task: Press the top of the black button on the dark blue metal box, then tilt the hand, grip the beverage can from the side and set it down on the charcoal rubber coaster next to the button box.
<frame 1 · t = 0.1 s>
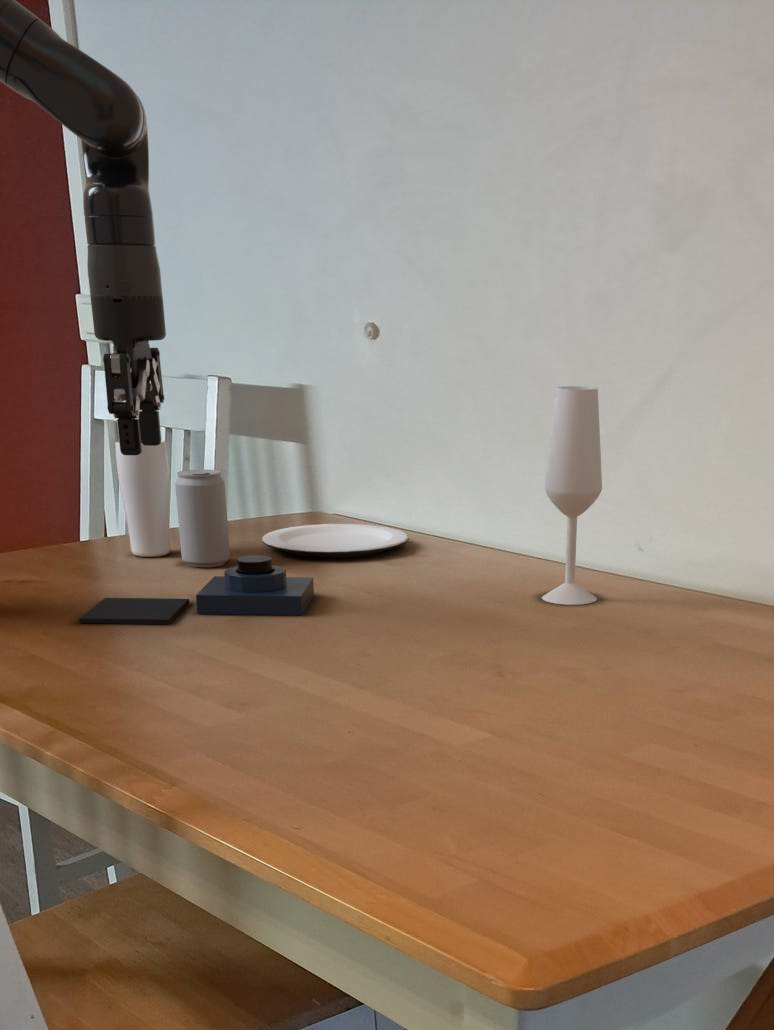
hand: (141, 449, 143), 17 cm above the table, tool pointing down, fingers open, 8 cm apart
beverage can: (206, 565, 171), on the table
button: (254, 566, 148), point 4 cm above the table, slide at 0.1 cm
button box: (257, 604, 150), on the table
drinking glass: (151, 555, 177), on the table
coaster: (136, 613, 146), on the table
plate: (336, 549, 182), on the table
champagne flute: (569, 599, 154), on the table
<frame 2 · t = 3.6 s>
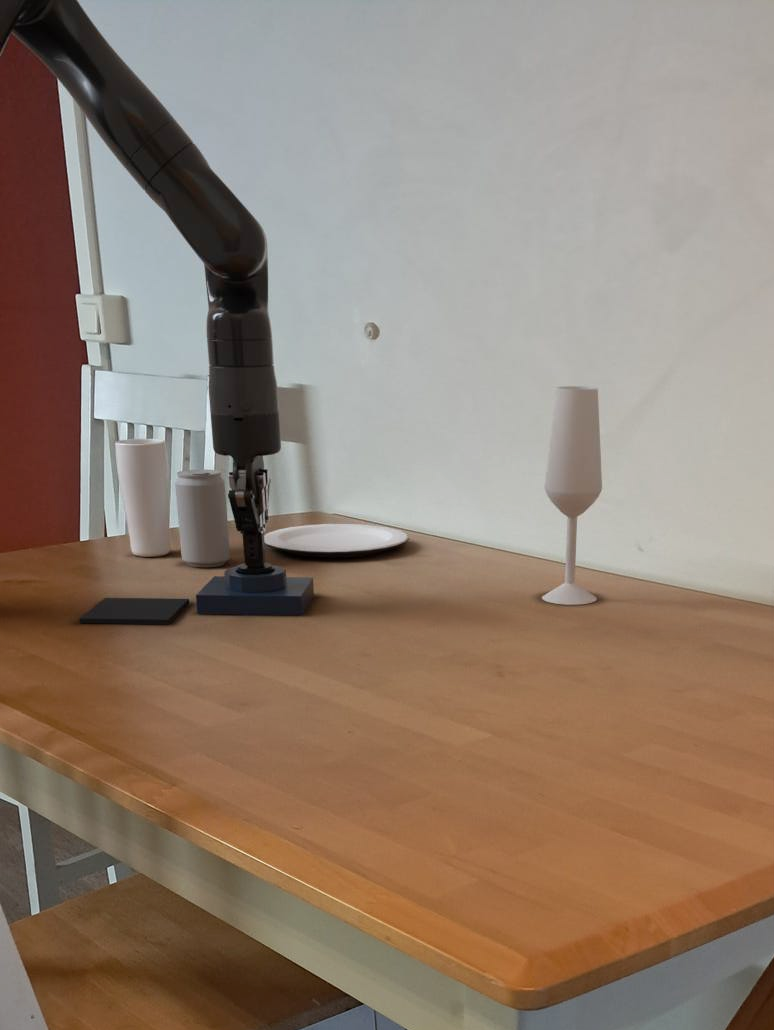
hand: (255, 565, 148), 5 cm above the table, tool pointing down, fingers closed
button: (255, 573, 149), point 4 cm above the table, slide at -0.7 cm, touching gripper
everything else where it was.
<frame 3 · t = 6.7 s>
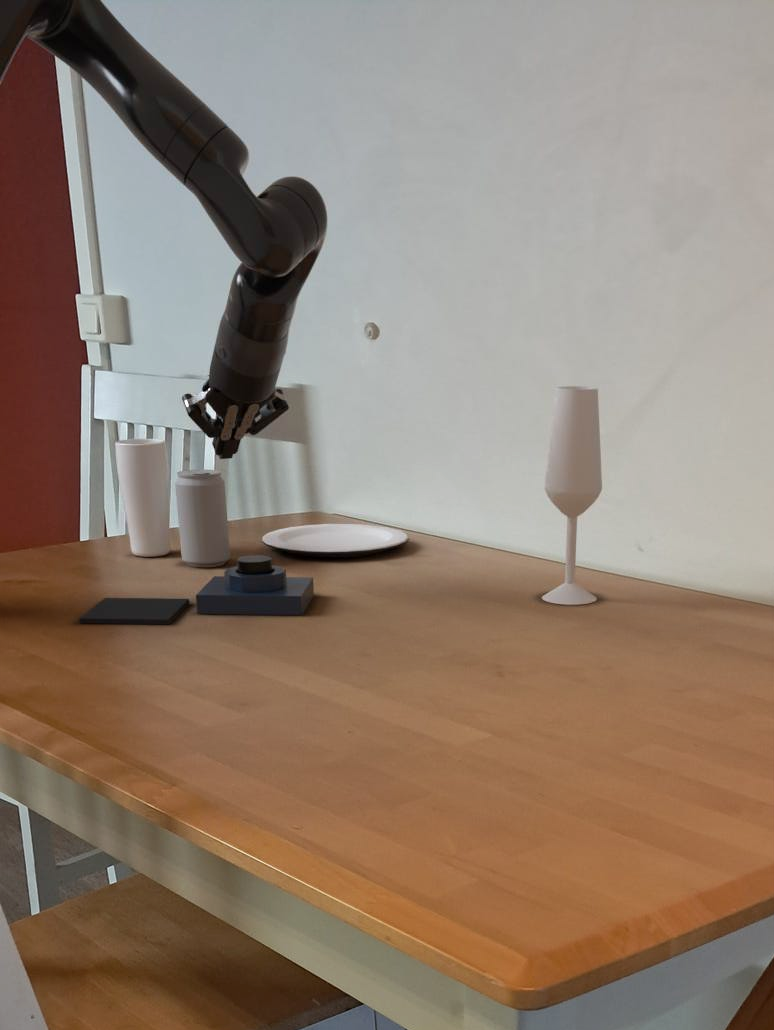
hand: (223, 453, 156), 15 cm above the table, tool tilted 45°, fingers closed
button: (254, 566, 148), point 4 cm above the table, slide at 0.1 cm
everything else where it was.
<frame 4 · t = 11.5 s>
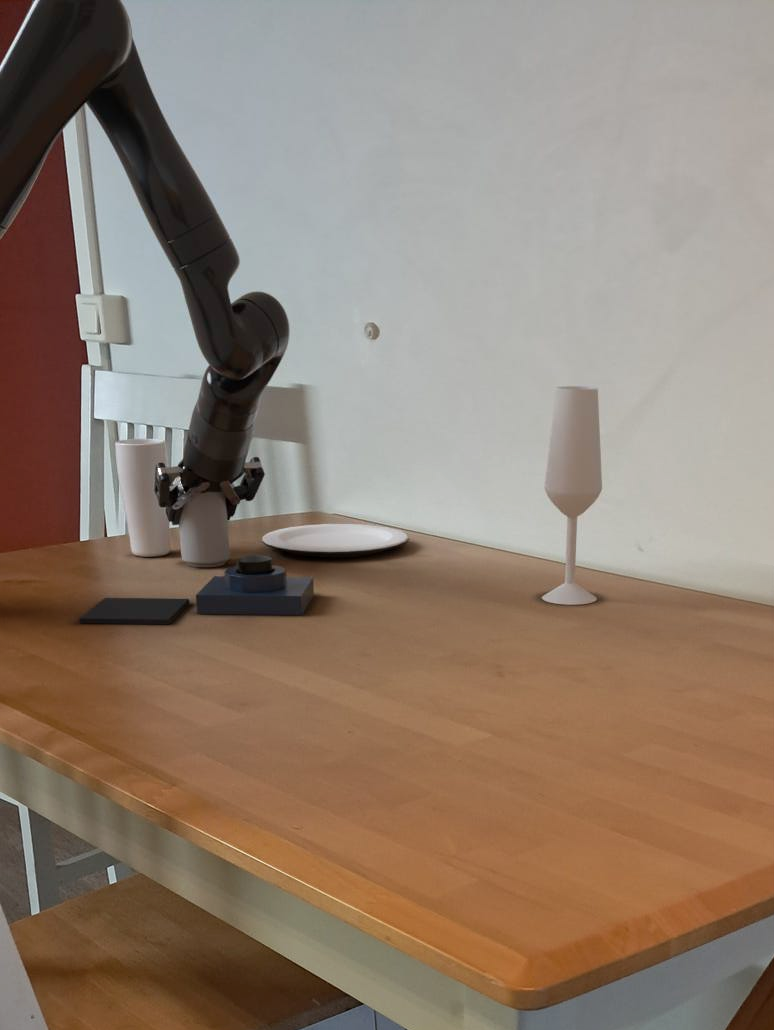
hand: (198, 517, 170), 6 cm above the table, tool tilted 45°, fingers closed on beverage can, 6 cm apart
beverage can: (206, 565, 171), on the table, touching gripper
everything else where it was.
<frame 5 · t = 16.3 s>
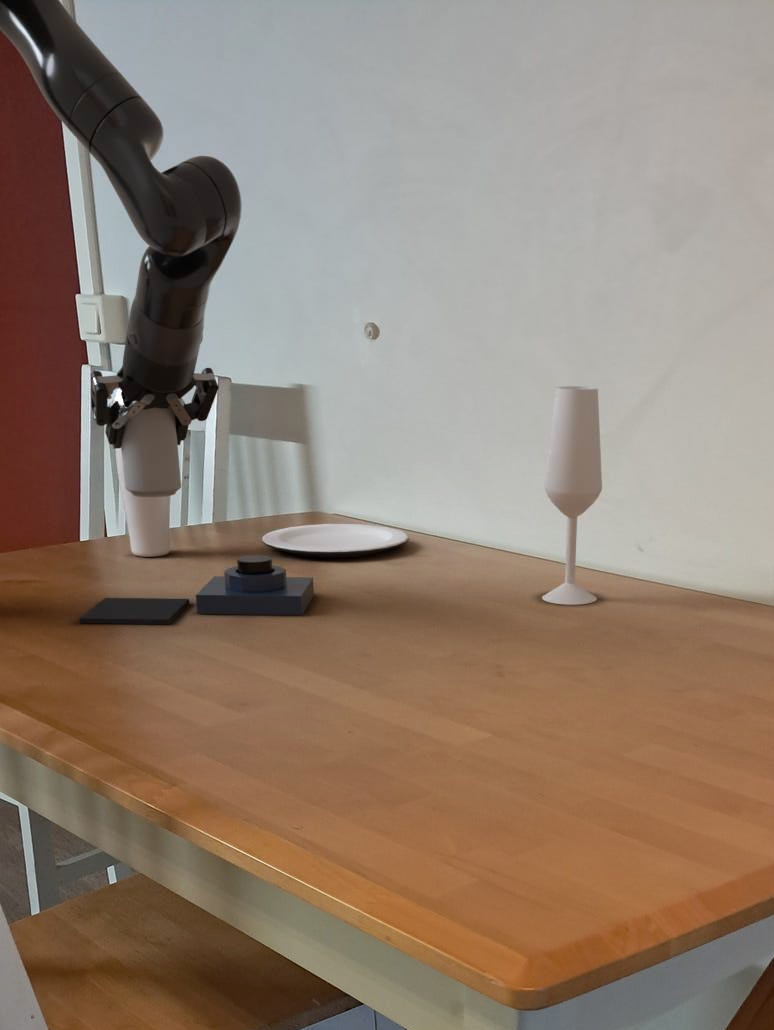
hand: (144, 440, 149), 18 cm above the table, tool tilted 45°, fingers closed on beverage can, 6 cm apart
beverage can: (154, 495, 150), point 12 cm above the table, touching gripper
everything else where it was.
when the fingers open (6 cm above the table, at t = 21.2 s): beverage can stays where it is, resting on coaster.
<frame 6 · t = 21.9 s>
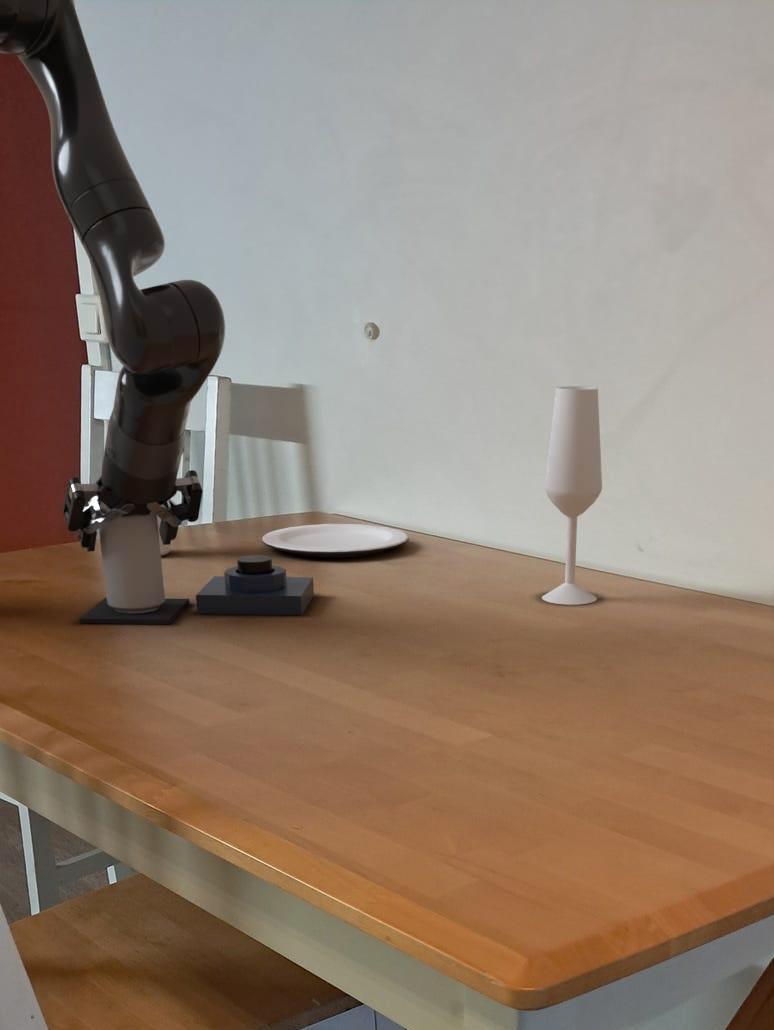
hand: (126, 541, 143), 8 cm above the table, tool tilted 45°, fingers open, 8 cm apart
beverage can: (137, 610, 145), resting on coaster
everything else where it was.
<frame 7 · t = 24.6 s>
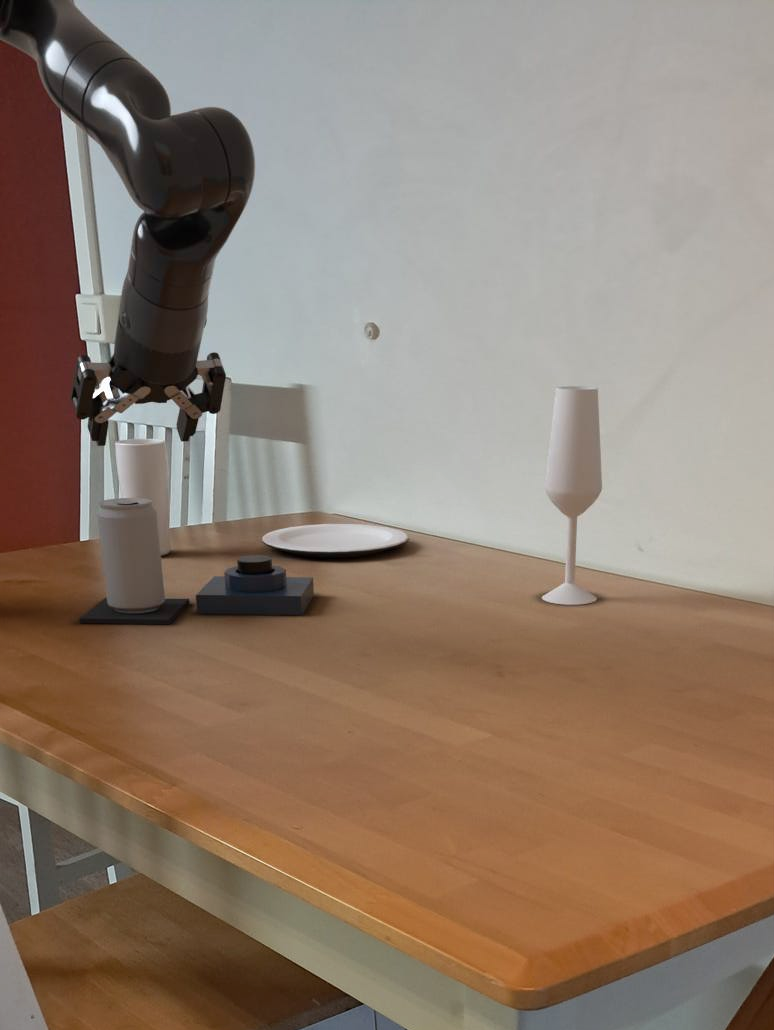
hand: (140, 436, 129), 20 cm above the table, tool tilted 45°, fingers open, 8 cm apart
nothing on the table moved.
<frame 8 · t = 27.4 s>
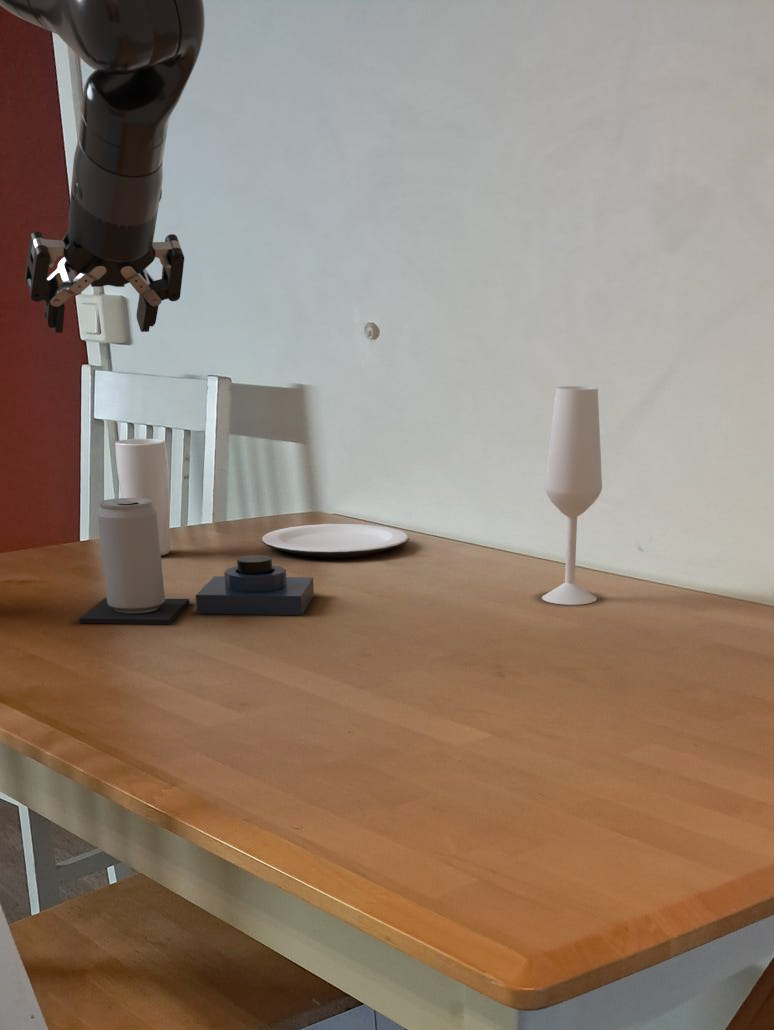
hand: (99, 326, 127), 31 cm above the table, tool tilted 45°, fingers open, 8 cm apart
nothing on the table moved.
at the end: button pushed in 1.1 cm at the most during the clip, back to where it started at the end; beverage can inside the target area on the coaster (0.3 cm from its centre), point 0.4 cm above the coaster's base; beverage can tilted 0° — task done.
